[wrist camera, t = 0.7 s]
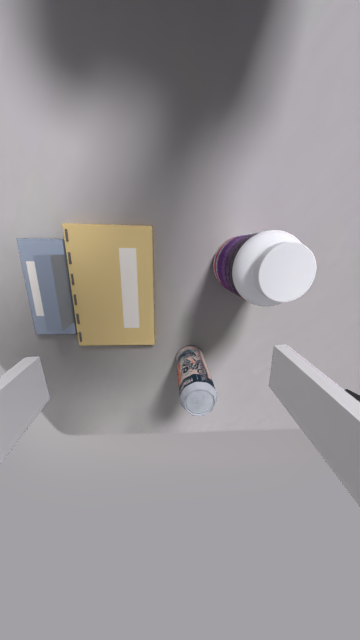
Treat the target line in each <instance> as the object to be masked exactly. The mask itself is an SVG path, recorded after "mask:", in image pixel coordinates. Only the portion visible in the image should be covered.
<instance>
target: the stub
mask: <svg viewBox="0 0 360 640" xmlns="http://www.w3.org/2000/svg"><path fill="white" fill-rule="evenodd" d="M16 239H17V244H18V249H19V254H20V259H21V264H22V269H23V274H24V278H25V283H26V288H27V293H28V298H29V303H30V308H31V313H32V318H33V323H34V328H35V332H36V334H76V333H77V326H76V319H75V312H74V305H73V298H72V290H71V283H70V276H69V269H68V262H67V255H66V247H65V240H64V239H29V238H16Z"/></svg>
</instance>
